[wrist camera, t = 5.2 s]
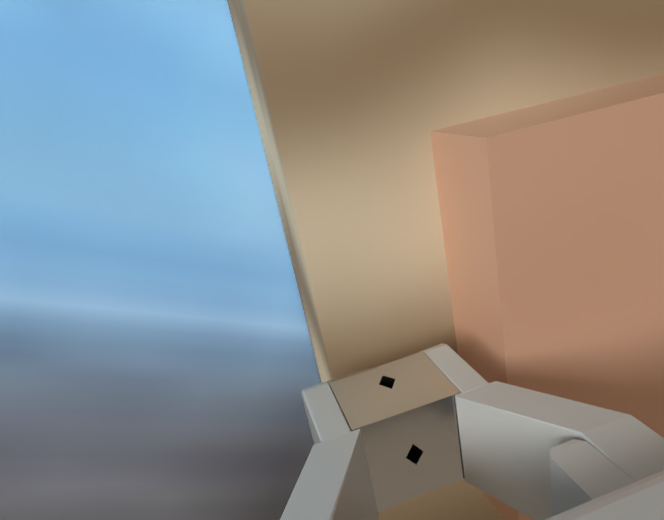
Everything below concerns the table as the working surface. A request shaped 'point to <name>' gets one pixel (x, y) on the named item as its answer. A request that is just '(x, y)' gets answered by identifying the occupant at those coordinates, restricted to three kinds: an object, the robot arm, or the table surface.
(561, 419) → the robot arm
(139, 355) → the table surface
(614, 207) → the tile
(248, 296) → the table surface
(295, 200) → the beige flat block
